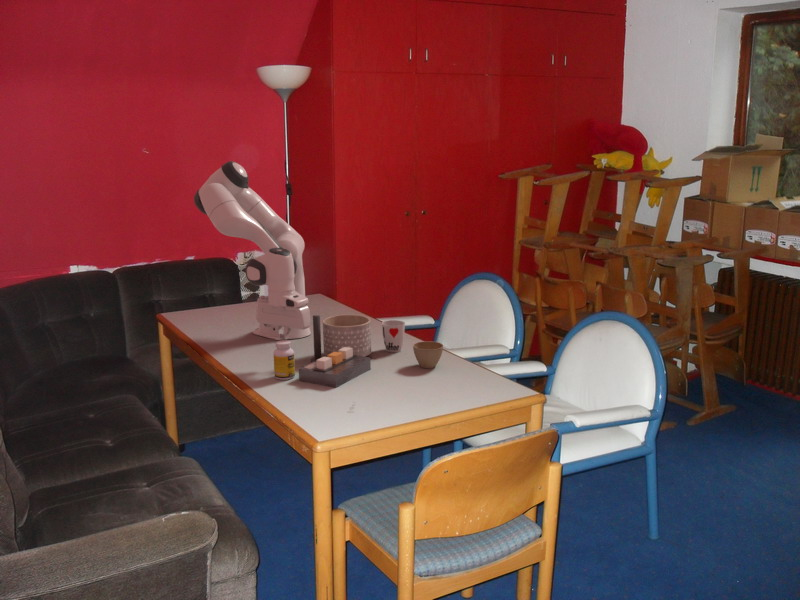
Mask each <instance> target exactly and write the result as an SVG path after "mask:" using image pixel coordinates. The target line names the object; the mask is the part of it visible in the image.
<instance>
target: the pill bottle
mask: <svg viewBox="0 0 800 600" xmlns="http://www.w3.org/2000/svg"><path fill="white" fill-rule="evenodd" d="M291 346H292V342H291V341H290V340H289V339H287V340H285V339H283V340H276V342H275V347H276V349H275V350H274V351H273V372H274V378H275V379H277V380H279V381H280V380H281V381H285V380H286V381H287V380H291V379H293V378H295V375H296V367H295V366H296V365H295V363H296V362H295V351H294V350H293V348H291Z"/></svg>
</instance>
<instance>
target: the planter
mask: <svg viewBox="0 0 800 600" xmlns="http://www.w3.org/2000/svg"><path fill="white" fill-rule="evenodd" d="M371 323H372V321H371V318H370V317H367V316H364V315H361V314H338V315H337V314H336V315H332V316H331V315H330V316H328V317H326V318H324V319H323V320H322V336H323V337H322V338H323V339H322V340H323V342H322V343H323V344H322V345H323V354H324V357H325V356H327V355H328V354H331V353H333V352H338V350H339V349H342V348H344V347H349V348H353V355H357V356H364V357H368V356H369V355H371V353H372V338H371V337H372V331H371V330H372V328H371V327H372V326H371Z"/></svg>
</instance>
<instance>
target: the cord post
mask: <svg viewBox="0 0 800 600" xmlns="http://www.w3.org/2000/svg"><path fill="white" fill-rule="evenodd" d="M312 328H313V329H312V331H313V355H314V356H313V358H311V359H310V363H312V362H314V361H316V360H318V359H320V358H322V357H323V356H322V337H321V336H322V335H321V334H322V332H321V315H319V314H315V315H313V316H312Z"/></svg>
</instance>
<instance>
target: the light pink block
mask: <svg viewBox="0 0 800 600" xmlns="http://www.w3.org/2000/svg"><path fill="white" fill-rule="evenodd" d="M321 357H322V358H320V359H318V360H316V363H317V368H318V369H323V370H325V369H327V368H329V367H331V366H332V358H329V357H325V356H321Z"/></svg>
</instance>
